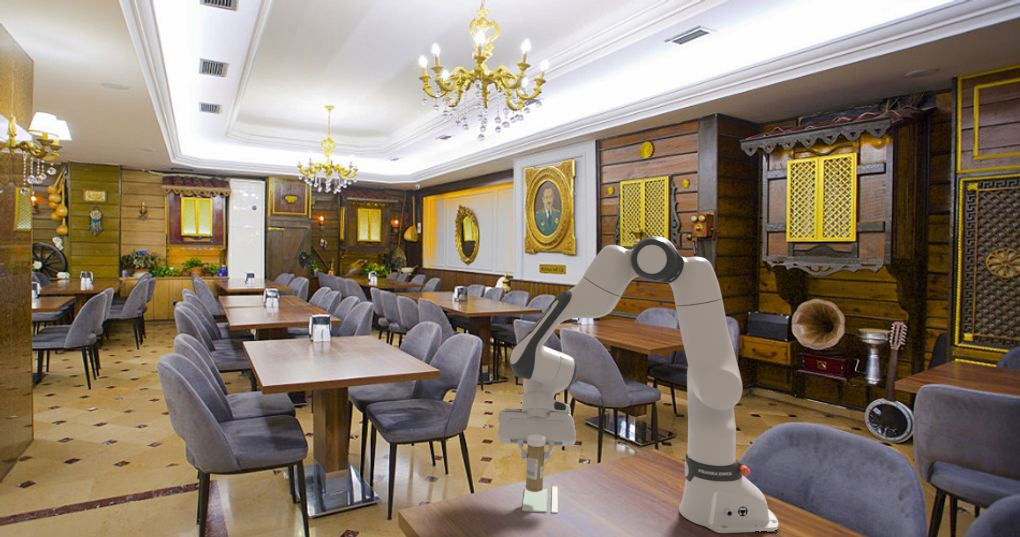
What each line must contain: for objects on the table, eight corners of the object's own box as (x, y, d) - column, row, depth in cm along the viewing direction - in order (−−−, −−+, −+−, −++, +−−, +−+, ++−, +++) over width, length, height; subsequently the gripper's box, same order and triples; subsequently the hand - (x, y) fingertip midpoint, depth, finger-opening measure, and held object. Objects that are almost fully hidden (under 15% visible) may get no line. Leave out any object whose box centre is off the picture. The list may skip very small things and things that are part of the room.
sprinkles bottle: (546, 490, 139) (549, 437, 139) (531, 494, 137) (534, 440, 136) (535, 483, 143) (538, 432, 143) (521, 487, 141) (523, 434, 140)
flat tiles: (557, 487, 150) (557, 486, 150) (557, 513, 135) (557, 511, 135) (525, 485, 151) (525, 484, 151) (522, 511, 136) (522, 509, 136)
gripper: (498, 402, 147) (493, 451, 138) (575, 405, 145) (576, 456, 136) (499, 413, 152) (495, 462, 142) (574, 417, 150) (575, 467, 141)
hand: (535, 459), depth 139 cm, fingers closed on sprinkles bottle, 4 cm apart
